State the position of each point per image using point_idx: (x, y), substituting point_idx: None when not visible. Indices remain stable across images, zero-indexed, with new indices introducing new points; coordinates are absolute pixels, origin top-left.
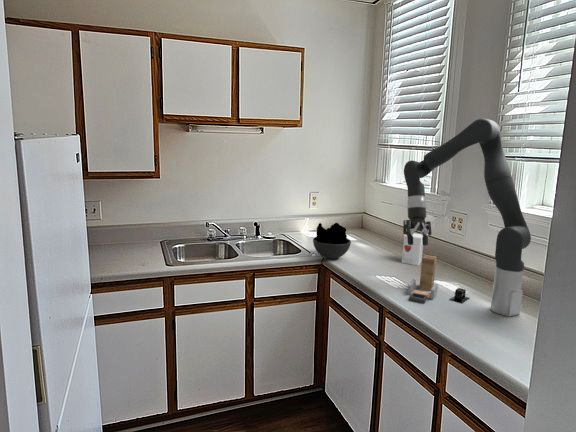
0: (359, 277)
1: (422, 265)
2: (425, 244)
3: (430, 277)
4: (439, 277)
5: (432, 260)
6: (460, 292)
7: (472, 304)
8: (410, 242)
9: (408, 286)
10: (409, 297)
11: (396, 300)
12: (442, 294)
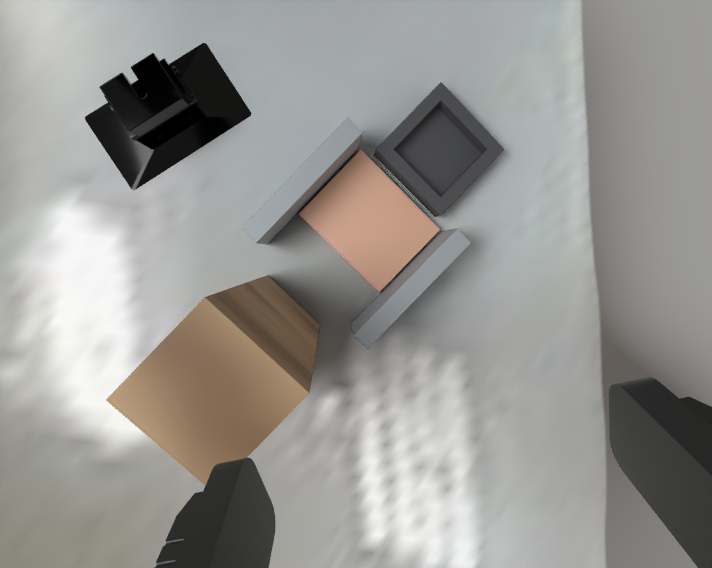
0: (583, 556)
1: (306, 359)
2: (251, 481)
3: (262, 291)
4: (58, 494)
5: (225, 307)
6: (165, 68)
7: (144, 17)
8: (705, 407)
9: (465, 240)
10: (501, 149)
11: (563, 170)
12: (233, 205)
